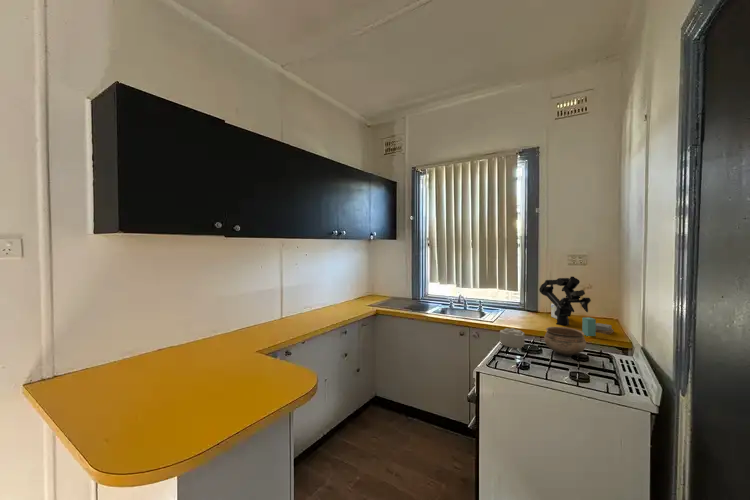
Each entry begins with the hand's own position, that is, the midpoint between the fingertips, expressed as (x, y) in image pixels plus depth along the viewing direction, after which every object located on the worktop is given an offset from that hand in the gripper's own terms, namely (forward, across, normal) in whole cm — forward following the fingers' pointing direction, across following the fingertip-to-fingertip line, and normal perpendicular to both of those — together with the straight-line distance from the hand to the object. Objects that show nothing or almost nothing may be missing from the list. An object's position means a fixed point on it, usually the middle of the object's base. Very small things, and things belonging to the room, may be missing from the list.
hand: (580, 312), depth 205 cm
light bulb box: (-17, +9, +37) cm, 41 cm away
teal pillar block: (+15, 0, +4) cm, 15 cm away
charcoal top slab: (+8, +15, +8) cm, 19 cm away
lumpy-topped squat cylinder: (+26, -57, -7) cm, 63 cm away
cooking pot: (+38, -36, -19) cm, 56 cm away
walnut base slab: (+10, +15, +10) cm, 20 cm away
